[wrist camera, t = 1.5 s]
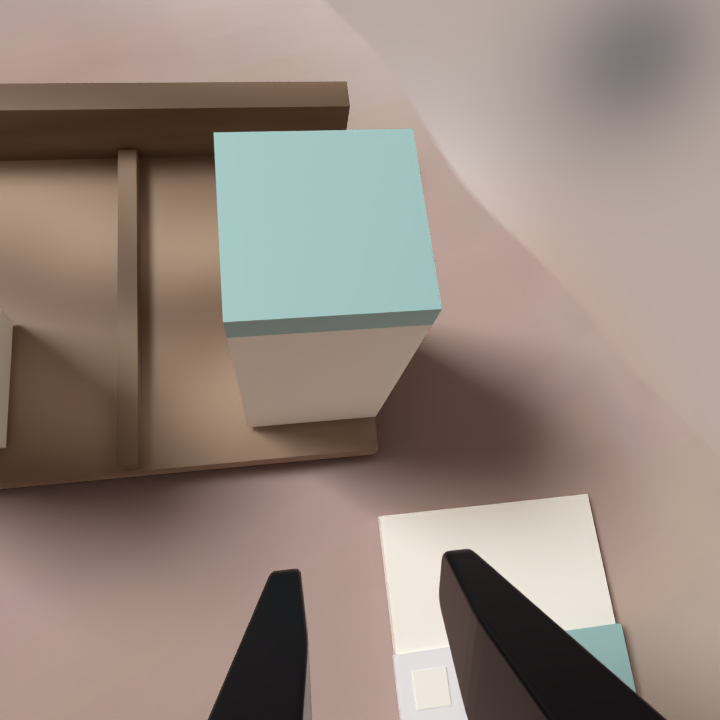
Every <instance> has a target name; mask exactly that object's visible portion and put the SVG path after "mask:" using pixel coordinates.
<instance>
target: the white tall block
mask: <svg viewBox="0 0 720 720" xmlns="http://www.w3.org/2000/svg"><path fill="white" fill-rule="evenodd" d="M214 152H215V172H216V192H217V212H218V232H219V253H220V273H221V293H222V313H223V325H224V329H225V333H226V337H227V341H228V345H229V349H230V354H231V358H232V362H233V366H234V370H235V374H236V378H237V383H238V387H239V391H240V395H241V399H242V403H243V407H244V411H245V416H246V420H247V424H248V427H259V426H271V425H283V424H294V423H306V422H318V421H330V420H342V419H354V418H365V417H376V416H377V414H378V412H379V411H380V409H381V407H382V406H383V404H384V403H385V401H386V399H387V398H388V396H389V394H390V393H391V391H392V390H393V388H394V386H395V385H396V383H397V381H398V380H399V378H400V377H401V375H402V373H403V372H404V370H405V368H406V367H407V365H408V363H409V362H410V360H411V359H412V357H413V355H414V354H415V352H416V350H417V349H418V347H419V346H420V344H421V342H422V341H423V339H424V337H425V336H426V334H427V333H428V331H429V329H430V328H431V326H432V324H433V323H434V321H435V320H436V318H437V316H438V315H439V313H440V311H441V310H442V306H441V300H440V294H439V288H438V282H437V276H436V269H435V263H434V257H433V251H432V245H431V239H430V233H429V226H428V220H427V214H426V208H425V202H424V196H423V190H422V183H421V177H420V171H419V165H418V159H417V153H416V147H415V140H414V134H413V129H381V130H324V131H267V132H214Z"/></svg>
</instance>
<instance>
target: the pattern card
mask: <svg viewBox="0 0 720 720" xmlns="http://www.w3.org/2000/svg"><path fill="white" fill-rule="evenodd" d="M378 522H379V531H380V539H381V548H382V556H383V565H384V574H385V582H386V591H387V599H388V608H389V616H390V625H391V633H392V642H393V650H394V655H393V664H394V672H395V681H396V690H397V698H398V707H399V715H400V720H468V718H467V715H466V712H465V708H464V704H463V700H462V696H461V692H460V688H459V684H458V680H457V676H456V671H455V667H454V663H453V659H452V655H451V650H450V646H449V642H448V638H447V634H446V630H445V625H444V621H443V617H442V613H441V608H440V602H439V584H440V572H441V560H442V556H443V554H444V553H445V552H446V551H451V550H460V549H471V550H473V551H474V552H475V553H477V554H478V555H479V556H480V557H481V558H482V559H483V560H485V561H486V562H487V563H488V564H489V565H490V566H492V567H493V568H494V569H495V570H496V571H497V572H498V573H500V574H501V575H502V576H503V577H504V578H505V579H506V580H508V581H509V582H510V583H511V584H512V585H513V586H514V587H516V588H517V589H518V590H519V591H520V592H521V593H522V594H524V595H525V596H526V597H527V598H528V599H529V600H530V601H532V602H533V603H534V604H535V605H536V606H537V607H538V608H540V609H541V610H542V611H543V612H544V613H545V614H546V615H548V616H549V617H550V618H551V619H552V620H553V621H554V622H556V623H557V624H558V625H559V626H560V627H561V628H562V629H564V630H565V631H566V632H567V633H568V634H569V635H570V636H572V637H573V638H574V639H575V640H576V641H577V642H578V643H580V644H581V645H582V646H583V647H584V648H585V649H586V650H588V651H589V652H590V653H591V654H592V655H593V656H594V657H596V658H597V659H598V660H599V661H600V662H601V663H602V664H604V665H605V666H606V667H607V668H608V669H609V670H610V671H612V672H613V673H614V674H615V675H616V676H617V677H618V678H620V679H621V680H622V681H623V682H624V683H625V684H626V685H628V686H629V687H630V688H631V689H632V690H633V691H634V692H636V689H635V685H634V680H633V676H632V671H631V667H630V662H629V657H628V653H627V648H626V644H625V639H624V635H623V630H622V625H621V623H615V618H614V614H613V609H612V604H611V600H610V595H609V591H608V586H607V581H606V577H605V572H604V568H603V563H602V558H601V554H600V549H599V544H598V540H597V535H596V531H595V526H594V521H593V517H592V512H591V508H590V503H589V498H588V494H582V495H573V496H563V497H554V498H545V499H536V500H526V501H517V502H508V503H498V504H489V505H480V506H471V507H461V508H452V509H443V510H434V511H424V512H415V513H406V514H396V515H387V516H379V517H378Z"/></svg>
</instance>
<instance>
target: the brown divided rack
mask: <svg viewBox="0 0 720 720" xmlns="http://www.w3.org/2000/svg"><path fill="white" fill-rule="evenodd" d="M349 108H350V104H349V97H348V89H347V82H203V83H46V84H0V309H1V310H2V311H3V312H4V313H5V314H6V315H7V316H9V317H10V318H11V319H12V320H13V334H12V352H11V369H10V386H9V404H8V421H7V438H6V448H0V489H8V488H18V487H29V486H40V485H51V484H61V483H72V482H83V481H93V480H104V479H115V478H126V477H136V476H147V475H158V474H169V473H179V472H190V471H201V470H211V469H222V468H233V467H244V466H254V465H265V464H276V463H286V462H297V461H308V460H319V459H329V458H340V457H351V456H362V455H372V454H375V453H376V452H377V451H378V449H379V446H378V438H377V430H376V422H375V417H365V418H354V419H342V420H330V421H318V422H306V423H294V424H283V425H271V426H259V427H248V424H247V420H246V416H245V411H244V407H243V403H242V399H241V395H240V391H239V387H238V383H237V378H236V374H235V370H234V366H233V362H232V358H231V354H230V349H229V345H228V341H227V337H226V333H225V329H224V325H223V313H222V293H221V273H220V253H219V232H218V212H217V192H216V172H215V152H214V132H267V131H324V130H346V128H347V122H348V115H349Z"/></svg>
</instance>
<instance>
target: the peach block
mask: <svg viewBox="0 0 720 720" xmlns="http://www.w3.org/2000/svg"><path fill="white" fill-rule="evenodd" d="M12 334H13V320H12V319H11V318H10V317H9V316H7V315H6V314H5V313H4V312H3V311H2V310H1V309H0V448H6V438H7V421H8V404H9V386H10V369H11V352H12Z"/></svg>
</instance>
